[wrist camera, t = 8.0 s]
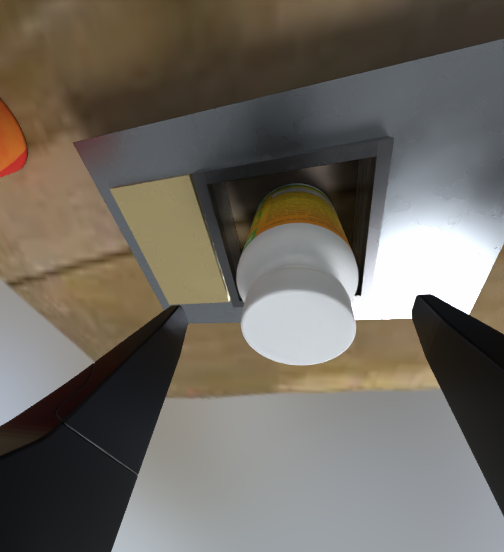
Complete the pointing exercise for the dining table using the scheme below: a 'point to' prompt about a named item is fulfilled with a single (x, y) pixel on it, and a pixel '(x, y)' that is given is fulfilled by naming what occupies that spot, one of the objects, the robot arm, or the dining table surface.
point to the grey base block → (315, 152)
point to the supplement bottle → (297, 279)
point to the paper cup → (11, 143)
